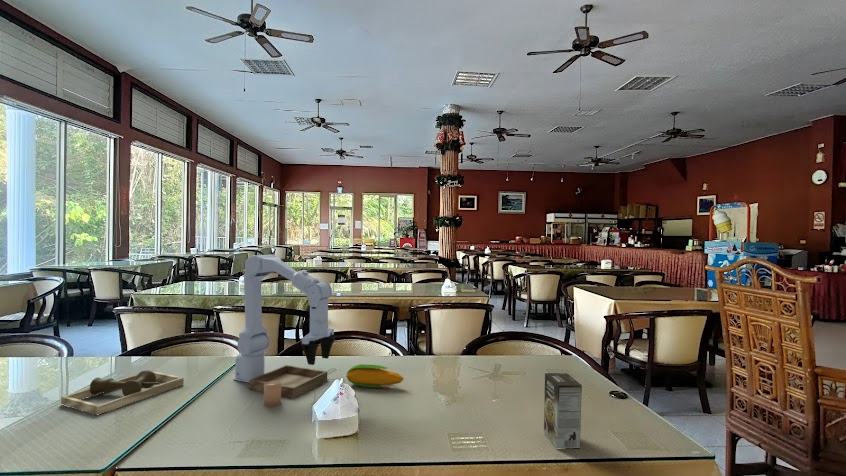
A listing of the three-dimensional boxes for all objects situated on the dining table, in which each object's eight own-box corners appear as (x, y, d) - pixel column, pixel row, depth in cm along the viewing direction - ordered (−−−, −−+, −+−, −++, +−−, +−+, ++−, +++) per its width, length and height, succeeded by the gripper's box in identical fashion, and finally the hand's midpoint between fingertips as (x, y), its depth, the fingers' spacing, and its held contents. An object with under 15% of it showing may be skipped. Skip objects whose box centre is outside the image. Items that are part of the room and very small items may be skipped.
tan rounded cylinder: (260, 404, 133) (260, 385, 133) (271, 399, 138) (272, 379, 137) (273, 407, 131) (273, 387, 131) (284, 401, 136) (284, 382, 136)
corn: (350, 358, 155) (406, 362, 152) (351, 380, 156) (406, 384, 152) (343, 366, 148) (401, 371, 144) (343, 388, 148) (401, 393, 145)
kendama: (103, 389, 143) (168, 386, 145) (83, 401, 134) (152, 398, 135) (103, 371, 143) (167, 368, 145) (82, 382, 134) (151, 379, 135)
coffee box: (542, 433, 117) (543, 372, 117) (566, 432, 118) (567, 372, 118) (555, 450, 108) (557, 384, 108) (581, 449, 109) (582, 384, 108)
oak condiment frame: (61, 405, 130) (61, 396, 130) (149, 377, 155) (149, 370, 155) (97, 415, 124) (97, 406, 124) (183, 384, 148) (183, 377, 148)
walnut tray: (249, 389, 146) (249, 379, 146) (286, 373, 162) (286, 364, 162) (293, 397, 139) (293, 388, 139) (327, 380, 155) (327, 371, 155)
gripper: (315, 325, 135) (314, 369, 136) (341, 316, 149) (341, 356, 149) (296, 322, 138) (296, 366, 138) (324, 314, 152) (323, 354, 152)
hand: (318, 361), depth 144 cm, fingers open, 7 cm apart
